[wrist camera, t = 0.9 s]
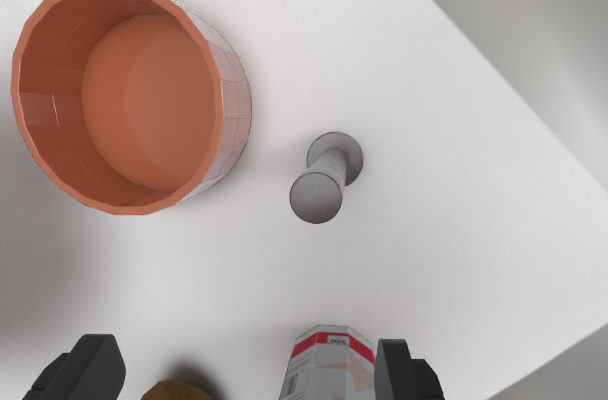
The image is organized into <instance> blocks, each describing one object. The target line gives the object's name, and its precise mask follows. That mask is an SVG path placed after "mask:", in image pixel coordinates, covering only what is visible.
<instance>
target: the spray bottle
mask: <svg viewBox="0 0 608 400" xmlns="http://www.w3.org/2000/svg"><path fill="white" fill-rule="evenodd" d="M375 361H376V355H375V352H374V349H373V346H372V343H370V342H369V341H367V340H366V339H364V338H363V337H362V336H360V335H359V334H357V333H356V332H355V331H353V330H352V329H350V328H349V327H341V326H322V325H319V326H317V327H315V328H314V329H312V330H311V331H309V332H307V333H306V334H304V335H302V336H301V337H299V338H297V339H296V342H295V345H294V348H293V351H292V354H291V357H290V360H289V363H288V367H287V371H286V374H285V378H284V382H283V385H282V389H281V393H280V396H279V400H376V396H375V389H374V368H375Z"/></svg>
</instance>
